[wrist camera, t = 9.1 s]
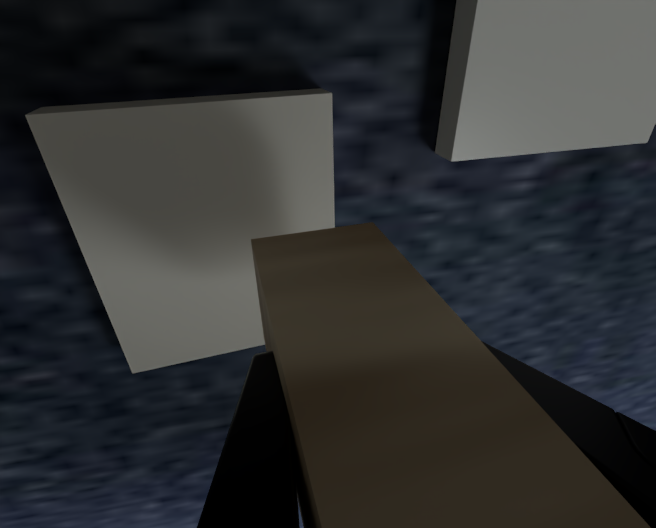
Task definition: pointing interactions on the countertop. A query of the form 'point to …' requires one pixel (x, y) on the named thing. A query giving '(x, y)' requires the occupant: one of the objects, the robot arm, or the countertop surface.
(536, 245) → the countertop surface
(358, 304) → the stick
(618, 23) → the grey flat plate
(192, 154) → the tile
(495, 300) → the countertop surface
